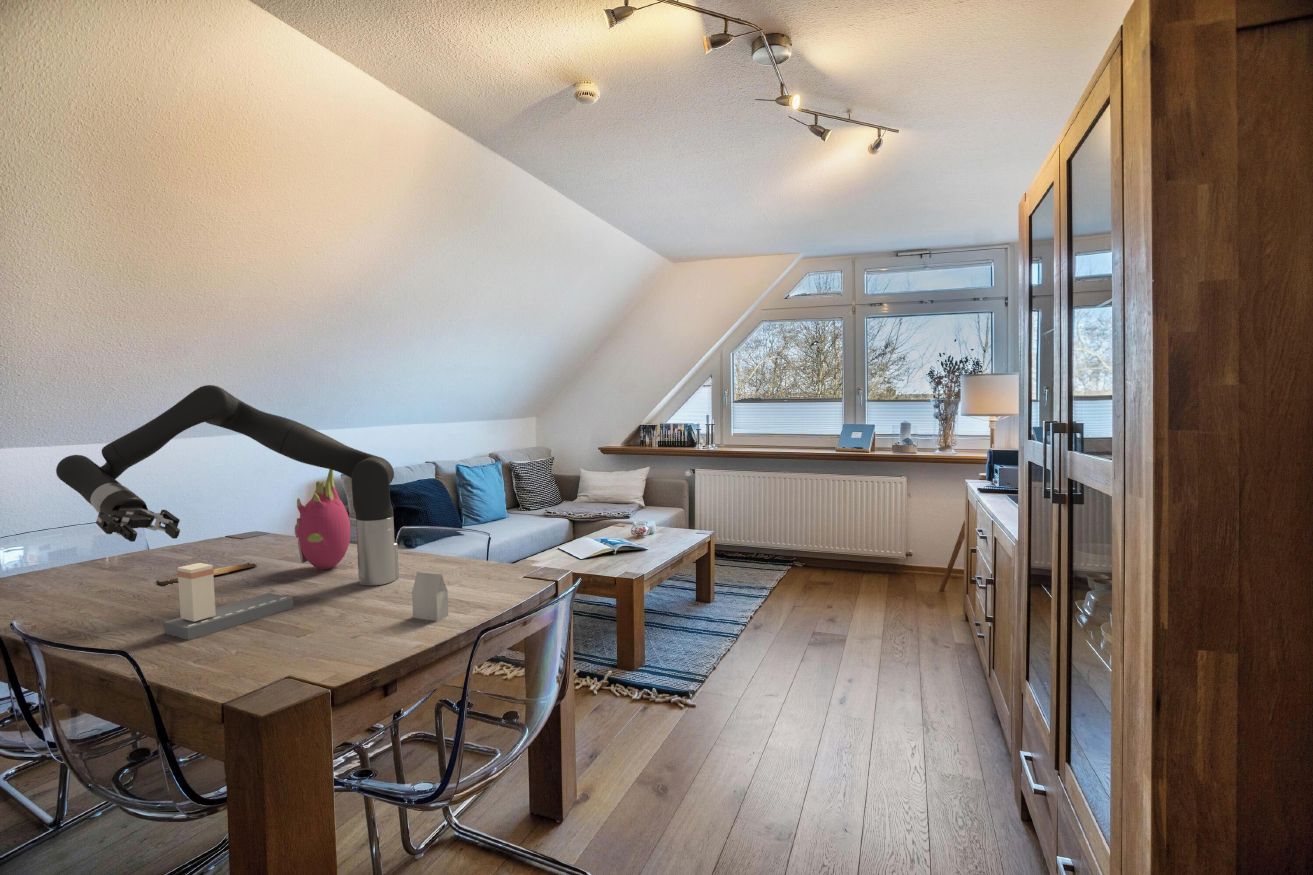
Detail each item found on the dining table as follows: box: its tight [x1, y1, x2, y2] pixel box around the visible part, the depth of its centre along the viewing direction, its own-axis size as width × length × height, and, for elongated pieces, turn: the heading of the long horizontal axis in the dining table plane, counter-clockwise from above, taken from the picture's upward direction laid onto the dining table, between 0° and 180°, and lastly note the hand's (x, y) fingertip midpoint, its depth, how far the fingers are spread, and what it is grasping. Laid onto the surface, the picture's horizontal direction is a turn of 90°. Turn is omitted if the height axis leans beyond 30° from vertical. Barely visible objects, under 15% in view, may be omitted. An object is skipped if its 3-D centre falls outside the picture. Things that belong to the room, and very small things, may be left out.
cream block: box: [176, 562, 216, 622], centre depth 145 cm, size 4×5×11 cm
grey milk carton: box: [411, 571, 449, 622], centre depth 152 cm, size 4×7×10 cm, turn 68°
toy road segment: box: [163, 592, 294, 641], centre depth 152 cm, size 23×9×3 cm, turn 152°
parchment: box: [156, 562, 257, 587], centre depth 192 cm, size 25×10×1 cm, turn 145°
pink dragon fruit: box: [294, 469, 352, 570], centre depth 195 cm, size 18×14×30 cm
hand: (156, 536), depth 149 cm, fingers open, 8 cm apart
